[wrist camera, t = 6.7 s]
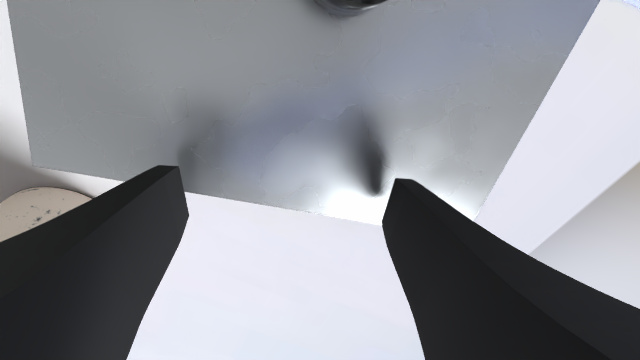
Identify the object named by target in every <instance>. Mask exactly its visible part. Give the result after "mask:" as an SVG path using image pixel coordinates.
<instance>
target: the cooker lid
mask: <svg viewBox="0 0 640 360" xmlns="http://www.w3.org/2000/svg"><path fill="white" fill-rule="evenodd" d="M599 1H600V0H7V5H8V11H9V18H10V24H11V31H12V37H13V43H14V50H15V56H16V62H17V69H18V75H19V81H20V88H21V94H22V101H23V107H24V113H25V120H26V126H27V132H28V139H29V145H30V151H31V158H32V164H33V166H37V167H42V168H48V169H54V170H60V171H66V172H72V173H78V174H84V175H90V176H96V177H102V178H107V179H113V180H119V181H125V182H126V181H127V180H129V179H131V178H133V177H135V176H137V175H139V174H141V173H143V172H145V171H146V170H149V169H151V168H153V167H155V166H157V165H167V166H179V169H180V174H181V179H182V183H183V188H184V192H190V193H196V194H202V195H208V196H214V197H220V198H226V199H231V200H237V201H243V202H249V203H255V204H261V205H267V206H273V207H279V208H285V209H291V210H296V211H302V212H308V213H314V214H320V215H326V216H332V217H338V218H344V219H350V220H356V221H361V222H367V223H373V224H379V225H382V222H381V221H382V218H383V215H384V212H385V209H386V206H387V203H388V199H389V196H390V193H391V190H392V187H393V184H394V181H395V178H404V179H413V180H415V181H416V182H418V183H420V184H421V185H423V186H424V187H425V188H427V189H428V190H430V191H431V192H433V193H434V194H435V195H437V196H438V197H440V198H441V199H442V200H444V201H445V202H446V203H448V204H449V205H451V206H452V207H453V208H455V209H456V210H458V211H459V212H461V213H462V214H463V215H465V216H466V217H468V218H469V219H471V220H472V221H474V219H475V218H476V216H477V214H478V213H479V211H480V209H481V207H482V206H483V204H484V202H485V200H486V199H487V197H488V195H489V193H490V192H491V190H492V188H493V186H494V185H495V183H496V181H497V179H498V178H499V176H500V174H501V172H502V171H503V169H504V167H505V165H506V164H507V162H508V160H509V158H510V157H511V155H512V153H513V151H514V150H515V148H516V146H517V144H518V143H519V141H520V139H521V138H522V136H523V134H524V132H525V131H526V129H527V127H528V125H529V124H530V122H531V120H532V118H533V117H534V115H535V113H536V111H537V110H538V108H539V106H540V104H541V103H542V101H543V99H544V97H545V96H546V94H547V92H548V90H549V89H550V87H551V85H552V83H553V82H554V80H555V78H556V76H557V75H558V73H559V71H560V69H561V68H562V66H563V64H564V62H565V61H566V59H567V57H568V56H569V54H570V52H571V50H572V49H573V47H574V45H575V43H576V42H577V40H578V38H579V36H580V35H581V33H582V31H583V29H584V28H585V26H586V24H587V22H588V21H589V19H590V17H591V15H592V14H593V12H594V10H595V8H596V7H597V5H598V3H599Z"/></svg>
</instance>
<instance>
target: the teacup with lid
mask: <svg viewBox="0 0 640 360" xmlns="http://www.w3.org/2000/svg"><path fill="white" fill-rule="evenodd" d="M90 200H92V199H91V198H89V197H87V196H85V195H82V194H79V193H76V192H73V191H69V190H65V189H60V188H51V187H37V188H30V189H25V190H22V191H19V192H17V193H15V194H13V195H11V196H10V197H8V198H7V199H5V200H4V201H3V202H1V203H0V242H1V241H4V240H6V239H8V238H11V237H13V236H16V235H18V234H20V233H23V232H25V231H27V230H29V229H32V228H34V227H36V226H38V225H41V224H43V223H45V222H47V221H49V220H51V219H53V218H55V217H57V216H59V215H61V214H63V213H65V212H67V211H69V210H72V209H74V208H76V207H78V206H80V205H82V204H84V203H86V202H88V201H90Z"/></svg>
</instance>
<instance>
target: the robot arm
mask: <svg viewBox="0 0 640 360" xmlns="http://www.w3.org/2000/svg"><path fill="white" fill-rule="evenodd" d="M622 1H624V2H627V3H629V4H631V5H633V6H635V7H637V8H639V9H640V0H622ZM188 217H189V213H188V208H187V203H186V198H185V193H184V188H183V183H182V179H181V174H180V169H179V166H167V165H157V166H155V167H153V168H151V169H149V170H146V171H145V172H143V173H141V174H139V175H137V176H135V177H133V178H131V179H129V180H127V181H126V182H124V183H122V184H120V185H118V186H116V187H114V188H112V189H111V190H109V191H107V192H105V193H103V194H101V195H99V196H97V197H96V198H94V199H92V200H90V201H88V202H86V203H84V204H82V205H80V206H78V207H76V208H74V209H72V210H69V211H67V212H65V213H63V214H61V215H59V216H57V217H55V218H53V219H51V220H49V221H47V222H45V223H43V224H41V225H38V226H36V227H34V228H32V229H29V230H27V231H25V232H23V233H20V234H18V235H16V236H13V237H11V238H8V239H6V240H4V241H1V242H0V360H126V359H127V357H128V354H129V352H130V349H131V346H132V344H133V341H134V339H135V336H136V333H137V331H138V328H139V326H140V323H141V321H142V319H143V316H144V314H145V312H146V310H147V308H148V306H149V304H150V302H151V300H152V298H153V296H154V294H155V292H156V290H157V288H158V286H159V284H160V282H161V280H162V278H163V276H164V274H165V272H166V270H167V268H168V266H169V264H170V262H171V260H172V258H173V256H174V254H175V252H176V250H177V248H178V246H179V243H180V241H181V238H182V235H183V233H184V230H185V226H186V223H187V220H188ZM381 222H382V227H383V231H384V236H385V240H386V244H387V247H388V250H389V253H390V256H391V258H392V261H393V264H394V266H395V269H396V271H397V274H398V277H399V279H400V282H401V284H402V287H403V290H404V292H405V295H406V297H407V300H408V302H409V305H410V308H411V311H412V314H413V317H414V320H415V323H416V327H417V331H418V334H419V338H420V341H421V345H422V349H423V352H424V356H425V360H640V309H638V308H636V307H634V306H632V305H629V304H627V303H624V302H622V301H620V300H618V299H615V298H613V297H611V296H609V295H607V294H604V293H602V292H600V291H598V290H596V289H594V288H591V287H589V286H587V285H585V284H583V283H581V282H579V281H577V280H575V279H573V278H571V277H569V276H567V275H565V274H563V273H561V272H559V271H557V270H555V269H553V268H551V267H549V266H547V265H545V264H544V263H542V262H540V261H538V260H536V259H534V258H533V257H531V256H529V255H527V254H525V253H524V252H522V251H520V250H518V249H517V248H515V247H513V246H511V245H510V244H508V243H506V242H505V241H503V240H501V239H500V238H498V237H497V236H495V235H493V234H492V233H490V232H489V231H487V230H486V229H484V228H483V227H481V226H480V225H478V224H477V223H475V222H474V221H472V220H471V219H469V218H468V217H466V216H465V215H463V214H462V213H461V212H459V211H458V210H456V209H455V208H453V207H452V206H451V205H449V204H448V203H446V202H445V201H444V200H442V199H441V198H440V197H438V196H437V195H435V194H434V193H433V192H431V191H430V190H428V189H427V188H425V187H424V186H423V185H421V184H420V183H418V182H416V181H415V180H413V179H404V178H395V181H394V184H393V187H392V190H391V193H390V196H389V199H388V203H387V206H386V209H385V212H384V215H383V218H382V221H381Z"/></svg>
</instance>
